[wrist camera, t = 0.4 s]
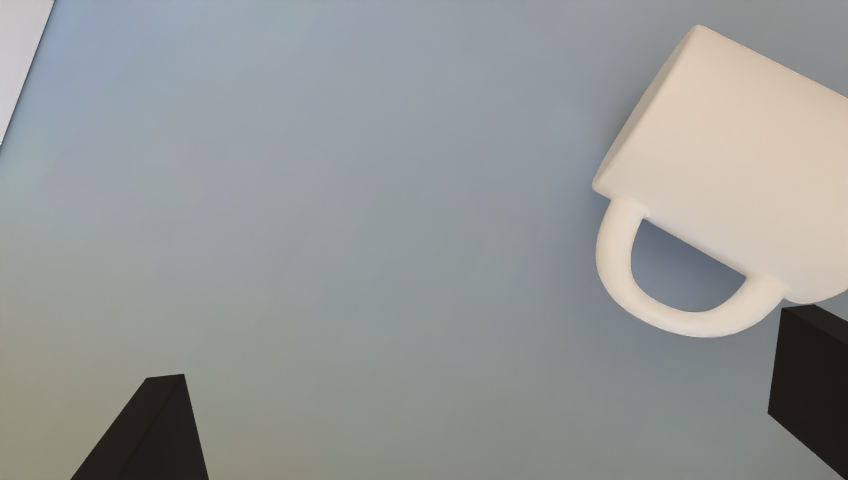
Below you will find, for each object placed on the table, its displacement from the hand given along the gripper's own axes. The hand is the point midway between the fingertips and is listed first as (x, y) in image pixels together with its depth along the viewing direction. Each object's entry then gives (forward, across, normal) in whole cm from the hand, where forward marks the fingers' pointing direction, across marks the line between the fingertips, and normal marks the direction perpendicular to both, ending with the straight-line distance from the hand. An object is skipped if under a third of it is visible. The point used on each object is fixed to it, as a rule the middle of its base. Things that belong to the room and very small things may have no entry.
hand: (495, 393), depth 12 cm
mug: (+15, -13, +1) cm, 20 cm away
